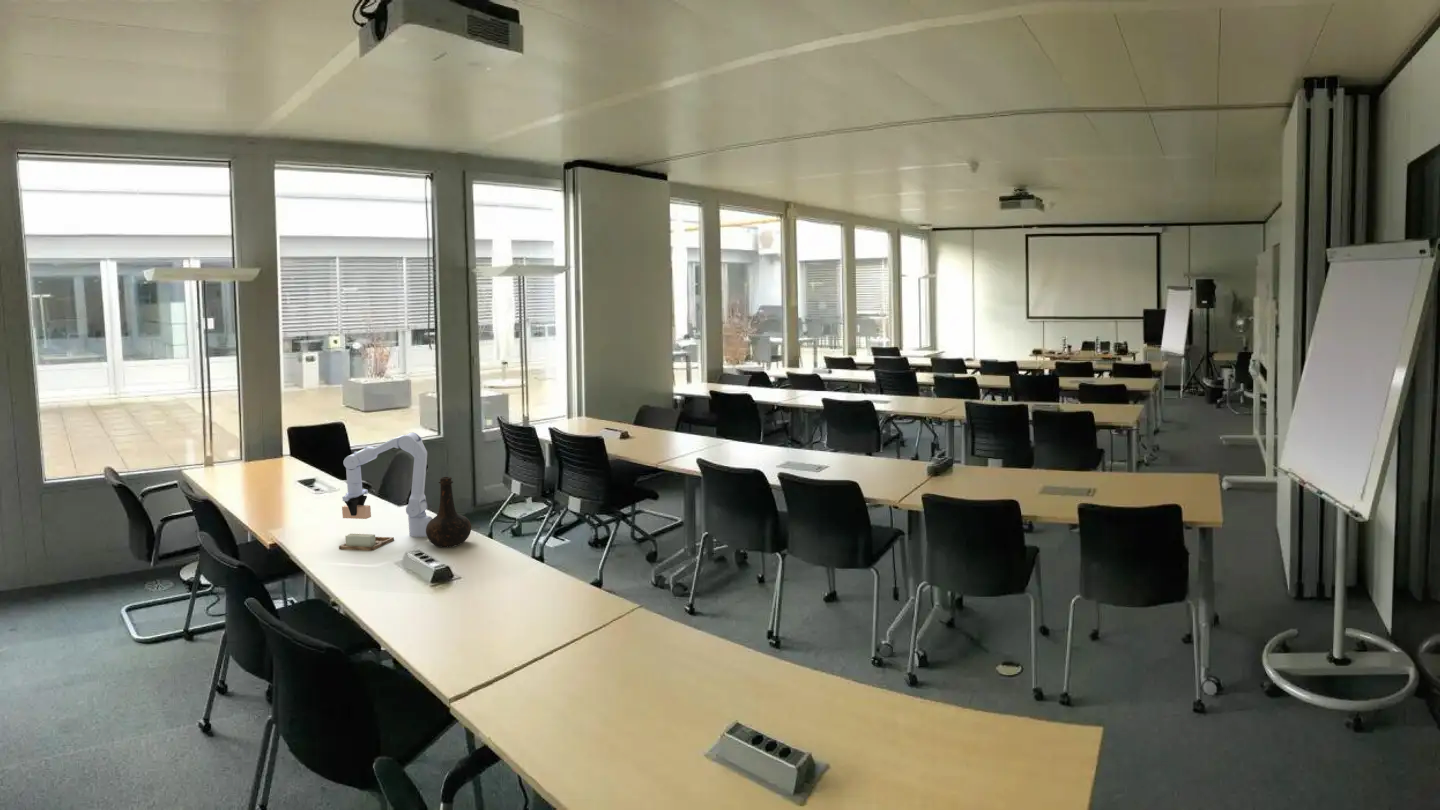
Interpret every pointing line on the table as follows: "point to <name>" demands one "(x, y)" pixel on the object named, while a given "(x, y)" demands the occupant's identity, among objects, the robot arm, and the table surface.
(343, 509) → the peach rectangular block
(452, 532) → the glass bottle
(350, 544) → the grey-green block
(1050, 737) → the table surface
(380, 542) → the rack
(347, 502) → the robot arm
